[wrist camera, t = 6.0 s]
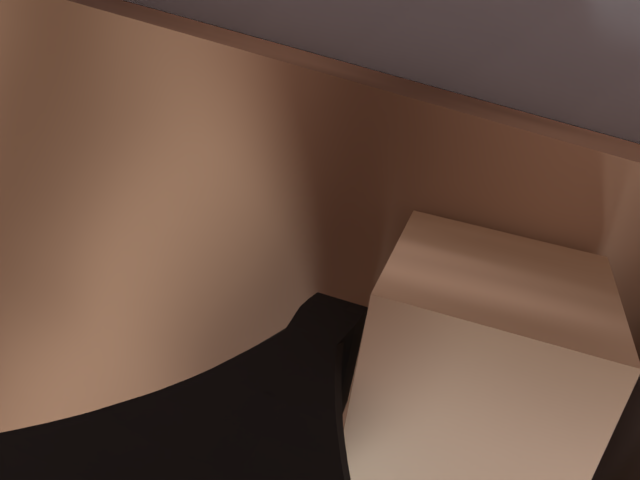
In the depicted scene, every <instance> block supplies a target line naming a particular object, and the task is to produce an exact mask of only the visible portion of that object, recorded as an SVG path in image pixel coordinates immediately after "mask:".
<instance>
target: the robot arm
mask: <svg viewBox="0 0 640 480" xmlns="http://www.w3.org/2000/svg"><path fill="white" fill-rule="evenodd" d="M367 311H368V307H365V306H362V305H359V304H355V303H352V302H349V301H345V300H342V299H339V298H335V297H332V296H329V295H325V294H322V293H319V292H317V293H316V294H314V295H313V296H312V297H310V298H309V299H308V300H307V301H305V302H304V303H303V304H302V305H301V306H300V307H299V309H298V310H297V312H296V313H295V315H294V316H293V318H292V320H291V321H290V323H289V324H288V326H287V327H286V328H285V329H283V330H281V331H280V332H278V333H276V334H275V335H273V336H271V337H270V338H268V339H266V340H264V341H263V342H261V343H259V344H258V345H256V346H254V347H252V348H250V349H249V350H247V351H245V352H243V353H241V354H239V355H237V356H235V357H233V358H231V359H229V360H227V361H225V362H223V363H221V364H219V365H217V366H215V367H213V368H211V369H209V370H207V371H205V372H203V373H200V374H198V375H196V376H194V377H191V378H189V379H186V380H184V381H181V382H179V383H176V384H173V385H171V386H168V387H166V388H163V389H161V390H158V391H155V392H152V393H149V394H146V395H143V396H140V397H137V398H133V399H130V400H127V401H124V402H120V403H117V404H114V405H111V406H108V407H104V408H101V409H98V410H95V411H91V412H88V413H84V414H80V415H76V416H72V417H68V418H64V419H60V420H56V421H52V422H48V423H44V424H39V425H34V426H30V427H25V428H20V429H16V430H11V431H6V432H1V433H0V480H351V478H350V473H349V467H348V460H347V453H346V446H345V438H344V428H343V416H342V415H343V412H344V409H345V407H346V404H347V401H348V397H349V393H350V388H351V384H352V379H353V375H354V370H355V366H356V361H357V356H358V352H359V347H360V343H361V338H362V334H363V329H364V325H365V320H366V316H367Z"/></svg>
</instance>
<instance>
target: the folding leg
mask: <svg viewBox="0 0 640 480" xmlns="http://www.w3.org/2000/svg"><path fill="white" fill-rule="evenodd" d="M639 375H640V361H639V358H638V355H637V351H636V348H635V345H634V342H633V338H632V335H631V332H630V329H629V325H628V322H627V319H626V316H625V312H624V309H623V306H622V303H621V299H620V296H619V293H618V289H617V286H616V283H615V280H614V276H613V273H612V270H611V267H610V263H609V260H608V257H605V256H601V255H597V254H592V253H588V252H584V251H580V250H576V249H572V248H568V247H563V246H559V245H555V244H551V243H547V242H543V241H539V240H534V239H530V238H526V237H522V236H518V235H514V234H510V233H505V232H501V231H497V230H493V229H489V228H485V227H481V226H476V225H472V224H468V223H464V222H460V221H456V220H452V219H447V218H443V217H439V216H435V215H431V214H427V213H423V212H418V211H413V213H412V215H411V216H410V218H409V220H408V222H407V224H406V226H405V228H404V230H403V232H402V234H401V236H400V238H399V240H398V242H397V244H396V246H395V248H394V250H393V252H392V254H391V256H390V258H389V259H388V261H387V263H386V265H385V267H384V269H383V271H382V273H381V275H380V277H379V279H378V281H377V283H376V285H375V287H374V289H373V291H372V293H371V296H370V301H369V306H368V311H367V316H366V321H365V326H364V331H363V336H362V341H361V346H360V351H359V356H358V361H357V366H356V372H355V377H354V382H353V387H352V392H351V397H350V402H349V407H348V412H347V417H346V422H345V427H344V438H345V446H346V453H347V460H348V467H349V473H350V478H351V480H591V479H592V477H593V475H594V473H595V471H596V469H597V466H598V464H599V462H600V460H601V458H602V456H603V453H604V451H605V449H606V447H607V445H608V442H609V440H610V438H611V436H612V434H613V432H614V429H615V427H616V425H617V423H618V421H619V419H620V416H621V414H622V412H623V410H624V408H625V406H626V403H627V401H628V399H629V397H630V395H631V393H632V390H633V388H634V386H635V384H636V382H637V380H638V377H639Z"/></svg>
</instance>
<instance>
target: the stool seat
mask: <svg viewBox="0 0 640 480" xmlns="http://www.w3.org/2000/svg"><path fill="white" fill-rule="evenodd" d="M413 211H418V212H423V213H427V214H431V215H435V216H439V217H443V218H447V219H452V220H456V221H460V222H464V223H468V224H472V225H476V226H481V227H485V228H489V229H493V230H497V231H501V232H505V233H510V234H514V235H518V236H522V237H526V238H530V239H534V240H539V241H543V242H547V243H551V244H555V245H559V246H563V247H568V248H572V249H576V250H580V251H584V252H588V253H592V254H597V255H601V256H605V257H608V260H609V263H610V267H611V270H612V273H613V276H614V280H615V283H616V286H617V289H618V293H619V296H620V299H621V303H622V306H623V309H624V312H625V316H626V319H627V322H628V325H629V329H630V332H631V335H632V338H633V342H634V345H635V348H636V351H637V355H638V358H639V361H640V144H638V143H634V142H630V141H627V140H623V139H620V138H616V137H612V136H609V135H605V134H602V133H598V132H594V131H591V130H587V129H584V128H580V127H576V126H573V125H569V124H566V123H562V122H558V121H555V120H551V119H548V118H544V117H540V116H537V115H533V114H530V113H526V112H522V111H519V110H515V109H512V108H508V107H504V106H501V105H497V104H494V103H490V102H486V101H483V100H479V99H476V98H472V97H469V96H465V95H461V94H458V93H454V92H451V91H447V90H443V89H440V88H436V87H433V86H429V85H425V84H422V83H418V82H415V81H411V80H407V79H404V78H400V77H397V76H393V75H389V74H386V73H382V72H379V71H375V70H371V69H368V68H364V67H361V66H357V65H353V64H350V63H346V62H343V61H339V60H335V59H332V58H328V57H325V56H321V55H317V54H314V53H310V52H307V51H303V50H299V49H296V48H292V47H289V46H285V45H282V44H278V43H274V42H271V41H267V40H264V39H260V38H256V37H253V36H249V35H246V34H242V33H238V32H235V31H231V30H228V29H224V28H220V27H217V26H213V25H210V24H206V23H202V22H199V21H195V20H192V19H188V18H184V17H181V16H177V15H174V14H170V13H166V12H163V11H159V10H156V9H152V8H148V7H145V6H141V5H138V4H134V3H130V2H127V1H123V0H0V433H1V432H6V431H11V430H16V429H20V428H25V427H30V426H34V425H39V424H44V423H48V422H52V421H56V420H60V419H64V418H68V417H72V416H76V415H80V414H84V413H88V412H91V411H95V410H98V409H101V408H104V407H108V406H111V405H114V404H117V403H120V402H124V401H127V400H130V399H133V398H137V397H140V396H143V395H146V394H149V393H152V392H155V391H158V390H161V389H163V388H166V387H168V386H171V385H173V384H176V383H179V382H181V381H184V380H186V379H189V378H191V377H194V376H196V375H198V374H200V373H203V372H205V371H207V370H209V369H211V368H213V367H215V366H217V365H219V364H221V363H223V362H225V361H227V360H229V359H231V358H233V357H235V356H237V355H239V354H241V353H243V352H245V351H247V350H249V349H250V348H252V347H254V346H256V345H258V344H259V343H261V342H263V341H264V340H266V339H268V338H270V337H271V336H273V335H275V334H276V333H278V332H280V331H281V330H283V329H285V328H286V327H287V326H288V324H289V323H290V321H291V320H292V318H293V316H294V315H295V313H296V312H297V310H298V309H299V307H300V306H301V305H302V304H303V303H304V302H305V301H307V300H308V299H309V298H310V297H312V296H313V295H314V294H316V293H317V292H319V293H322V294H325V295H329V296H332V297H335V298H339V299H342V300H345V301H349V302H352V303H355V304H359V305H362V306H365V307H368V306H369V301H370V296H371V293H372V291H373V289H374V287H375V285H376V283H377V281H378V279H379V277H380V275H381V273H382V271H383V269H384V267H385V265H386V263H387V261H388V259H389V258H390V256H391V254H392V252H393V250H394V248H395V246H396V244H397V242H398V240H399V238H400V236H401V234H402V232H403V230H404V228H405V226H406V224H407V222H408V220H409V218H410V216H411V215H412V213H413ZM365 321H366V320H365ZM364 326H365V325H364ZM363 331H364V329H363ZM362 336H363V334H362ZM361 341H362V338H361ZM360 346H361V343H360ZM359 351H360V347H359ZM358 356H359V352H358ZM358 356H357V361H358ZM357 361H356V366H357ZM356 366H355V370H354V375H353V379H352V384H351V388H350V393H349V397H348V401H347V404H346V407H345V409H344V412H343V415H342V416H343V428H344V427H345V422H346V417H347V412H348V407H349V402H350V397H351V392H352V387H353V382H354V377H355V372H356ZM591 480H640V375H639V377H638V380H637V382H636V384H635V386H634V388H633V390H632V393H631V395H630V397H629V399H628V401H627V403H626V406H625V408H624V410H623V412H622V414H621V416H620V419H619V421H618V423H617V425H616V427H615V429H614V432H613V434H612V436H611V438H610V440H609V442H608V445H607V447H606V449H605V451H604V453H603V456H602V458H601V460H600V462H599V464H598V466H597V469H596V471H595V473H594V475H593V477H592V479H591Z"/></svg>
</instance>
